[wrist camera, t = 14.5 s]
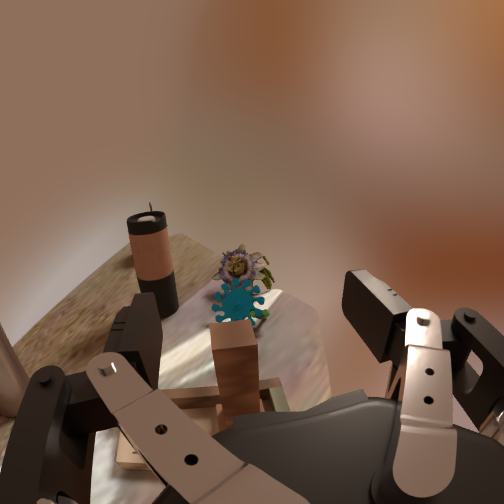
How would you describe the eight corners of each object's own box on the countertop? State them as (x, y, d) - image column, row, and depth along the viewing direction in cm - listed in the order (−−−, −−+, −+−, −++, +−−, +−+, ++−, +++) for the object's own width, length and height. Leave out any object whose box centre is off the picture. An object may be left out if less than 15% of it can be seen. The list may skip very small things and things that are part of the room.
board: (122, 468, 25) (108, 451, 23) (129, 410, 34) (119, 390, 32) (296, 456, 28) (299, 439, 26) (278, 398, 37) (278, 377, 35)
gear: (202, 317, 53) (224, 269, 56) (214, 323, 58) (235, 279, 61) (253, 341, 49) (277, 289, 51) (262, 345, 54) (283, 297, 56)
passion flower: (239, 315, 66) (203, 280, 62) (245, 284, 75) (214, 252, 71) (279, 295, 61) (243, 255, 57) (282, 265, 70) (251, 228, 66)
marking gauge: (222, 451, 27) (201, 364, 21) (217, 411, 33) (200, 320, 27) (271, 444, 28) (272, 355, 22) (261, 405, 33) (258, 313, 28)
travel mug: (147, 301, 62) (130, 213, 55) (180, 297, 63) (167, 209, 56) (143, 320, 55) (122, 224, 48) (179, 316, 56) (163, 219, 49)
